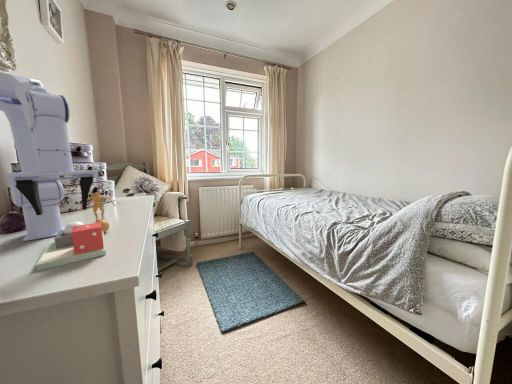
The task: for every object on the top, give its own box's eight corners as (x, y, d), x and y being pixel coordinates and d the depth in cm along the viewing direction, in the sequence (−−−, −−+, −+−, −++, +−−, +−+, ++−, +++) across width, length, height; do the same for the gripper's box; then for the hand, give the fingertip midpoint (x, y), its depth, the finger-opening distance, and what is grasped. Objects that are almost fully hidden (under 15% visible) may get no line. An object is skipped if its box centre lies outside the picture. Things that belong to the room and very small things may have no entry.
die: (76, 246, 48) (73, 225, 48) (103, 241, 51) (100, 221, 50) (74, 254, 44) (71, 231, 43) (103, 248, 47) (100, 226, 46)
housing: (60, 239, 53) (59, 230, 53) (94, 233, 57) (93, 225, 57) (56, 248, 48) (54, 238, 47) (94, 241, 52) (93, 231, 51)
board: (50, 245, 53) (50, 240, 52) (104, 235, 59) (103, 230, 59) (36, 270, 40) (35, 264, 40) (105, 254, 47) (105, 249, 47)
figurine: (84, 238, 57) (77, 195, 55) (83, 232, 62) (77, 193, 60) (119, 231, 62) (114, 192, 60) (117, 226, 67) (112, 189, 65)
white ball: (66, 238, 53) (63, 221, 52) (88, 234, 55) (85, 218, 55) (64, 243, 49) (61, 225, 49) (87, 238, 52) (85, 222, 51)
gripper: (-5, 150, 38) (10, 221, 40) (95, 151, 46) (103, 209, 49) (7, 151, 43) (20, 214, 45) (95, 152, 52) (102, 204, 54)
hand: (63, 211), depth 47 cm, fingers open, 7 cm apart
